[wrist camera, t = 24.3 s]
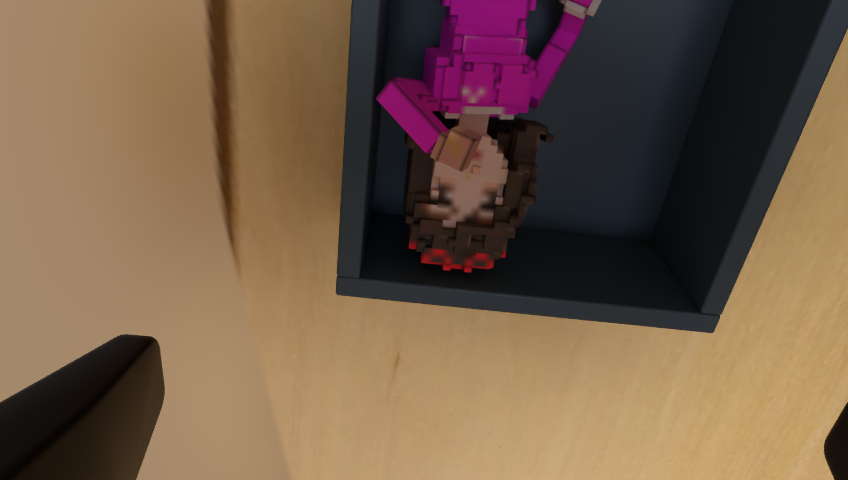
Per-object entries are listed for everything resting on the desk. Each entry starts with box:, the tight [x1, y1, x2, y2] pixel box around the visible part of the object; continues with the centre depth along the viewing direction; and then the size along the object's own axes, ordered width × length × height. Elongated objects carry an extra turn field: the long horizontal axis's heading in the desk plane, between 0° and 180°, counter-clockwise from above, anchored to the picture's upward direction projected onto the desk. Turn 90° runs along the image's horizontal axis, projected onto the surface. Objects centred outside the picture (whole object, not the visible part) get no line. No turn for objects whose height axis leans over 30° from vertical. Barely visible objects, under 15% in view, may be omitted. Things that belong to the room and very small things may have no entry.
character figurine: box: [376, 0, 602, 273], centre depth 14 cm, size 6×5×12 cm
